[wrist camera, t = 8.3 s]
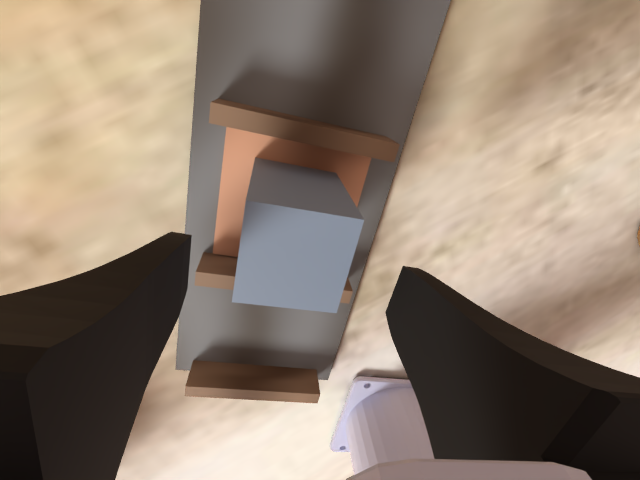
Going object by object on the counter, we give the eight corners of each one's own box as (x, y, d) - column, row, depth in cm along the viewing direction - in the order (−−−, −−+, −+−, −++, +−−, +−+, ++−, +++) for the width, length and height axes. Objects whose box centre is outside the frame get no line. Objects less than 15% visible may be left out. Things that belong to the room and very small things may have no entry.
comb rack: (462, -53, 14) (498, -77, 12) (326, 373, 24) (332, 405, 22) (214, -144, 12) (200, -194, 10) (177, 362, 22) (166, 396, 20)
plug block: (336, 172, 17) (364, 219, 12) (318, 243, 19) (336, 313, 13) (255, 157, 16) (245, 200, 11) (244, 232, 18) (231, 302, 13)
